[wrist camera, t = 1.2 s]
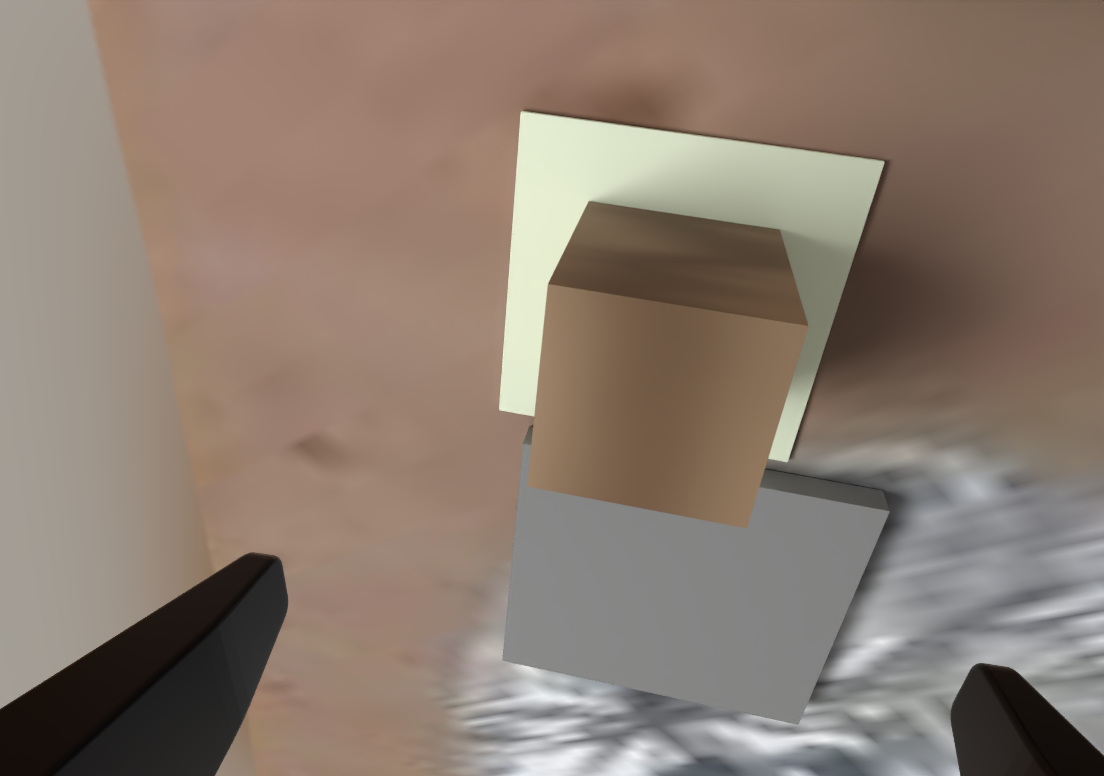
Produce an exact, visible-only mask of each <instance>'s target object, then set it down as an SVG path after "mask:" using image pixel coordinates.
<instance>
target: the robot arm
mask: <svg viewBox="0 0 1104 776" xmlns="http://www.w3.org/2000/svg"><path fill="white" fill-rule="evenodd" d="M287 608H288V594H287V589H286V583H285V577H284V571H283V566H282V562H281V560H280V559H279V558H278V557H277V556H274V555H268V554H261V553H254V552H252V553H248V554H245V555H243V556H242V557H240V558H238V559H237V560H235V561H234V562H232V563H231V564H229V565H227V566H226V567H224V568H223V569H221V570H219V571H218V572H216V573H215V574H213V575H212V576H210V577H209V578H207V579H205V580H204V581H202V582H200V583H199V584H197V585H196V586H194V587H193V588H191V589H189V590H188V591H186V592H185V593H183V594H182V595H180V596H178V597H177V598H175V599H174V600H172V601H171V602H169V603H167V604H166V605H164V606H163V607H161V608H159V609H158V610H156V611H155V612H153V613H151V614H150V615H148V616H147V617H145V618H143V619H142V620H140V621H139V622H137V623H136V624H134V625H132V626H131V627H129V628H128V629H126V630H124V631H123V632H121V633H120V634H118V635H117V636H115V637H113V638H112V639H110V640H109V641H107V642H106V643H104V644H103V645H101V646H99V647H98V648H96V649H94V650H93V651H91V652H90V653H88V654H86V655H85V656H83V657H82V658H80V659H79V660H77V661H76V662H74V663H72V664H71V665H69V666H67V667H66V668H64V669H63V670H61V671H60V672H58V673H56V674H55V675H53V676H52V677H50V678H49V679H47V680H45V681H44V682H42V683H41V684H39V685H38V686H36V687H34V688H33V689H31V690H30V691H28V692H26V693H25V694H23V695H22V696H20V697H18V698H17V699H16V700H14V701H12V702H11V703H9V704H7V705H6V706H4V707H3V708H1V709H0V776H215V774H216V772H217V770H218V769H219V767H220V765H221V763H222V761H223V759H224V757H225V756H226V754H227V752H228V750H229V748H230V746H231V744H232V742H233V740H234V738H235V736H236V734H237V732H238V730H239V728H240V726H241V724H242V722H243V720H244V718H245V715H246V713H247V711H248V708H249V706H250V704H251V701H252V699H253V696H254V694H255V691H256V689H257V686H258V684H259V681H260V679H261V676H262V674H263V671H264V669H265V666H266V664H267V661H268V659H269V656H270V654H271V651H272V649H273V646H274V644H275V641H276V639H277V636H278V634H279V631H280V629H281V626H282V624H283V621H284V619H285V616H286V613H287ZM951 726H952V731H953V737H954V742H955V748H956V754H957V759H958V765H959V771H960V776H1104V755H1103V754H1102V753H1101V752H1100V751H1099V750H1097V749H1096V748H1095V747H1094V746H1093V745H1092V744H1091V743H1090V742H1089V741H1088V740H1087V739H1086V738H1085V737H1084V736H1083V735H1082V734H1081V733H1080V732H1079V731H1078V730H1077V729H1076V728H1075V727H1074V726H1073V725H1072V724H1071V723H1070V722H1069V721H1068V720H1067V719H1065V718H1064V717H1063V716H1062V715H1061V714H1060V713H1059V712H1058V711H1057V710H1056V709H1055V708H1054V707H1053V706H1052V705H1051V704H1050V703H1049V702H1048V701H1047V700H1046V699H1045V698H1044V697H1043V696H1042V695H1041V694H1040V693H1039V692H1038V691H1037V690H1036V689H1035V688H1033V687H1032V686H1031V685H1030V684H1029V683H1028V682H1027V681H1026V680H1025V679H1024V678H1023V677H1022V676H1021V675H1020V674H1019V673H1018V672H1016V671H1015V670H1013V669H1011V668H1009V667H1004V666H998V665H991V664H985V663H978V664H976V665H974V666H973V667H972V668H971V670H970V672H969V673H968V675H967V677H966V679H965V681H964V683H963V685H962V687H961V689H960V690H959V692H958V694H957V696H956V698H955V700H954V702H953V705H952V709H951Z"/></svg>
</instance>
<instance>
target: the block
mask: <svg viewBox="0 0 1104 776" xmlns="http://www.w3.org/2000/svg"><path fill="white" fill-rule="evenodd" d="M808 327H809V326H808V322H807V319H806V316H805V312H804V309H803V306H802V302H801V299H800V295H799V292H798V289H797V285H796V282H795V279H794V275H793V272H792V269H791V265H790V262H789V259H788V255H787V252H786V248H785V245H784V242H783V238H782V235H781V232H780V229H773V228H766V227H760V226H753V225H746V224H739V223H733V222H726V221H719V220H713V219H706V218H699V217H692V216H686V215H679V214H672V213H666V212H659V211H652V210H645V209H639V208H632V207H625V206H619V205H612V204H605V203H598V202H592V201H588V203H587V205H586V208H585V210H584V212H583V214H582V216H581V218H580V220H579V222H578V224H577V226H576V228H575V230H574V232H573V234H572V236H571V238H570V240H569V242H568V244H567V246H566V248H565V250H564V252H563V254H562V256H561V258H560V260H559V262H558V264H557V266H556V268H555V270H554V272H553V274H552V276H551V279H550V281H549V283H548V287H547V297H546V307H545V316H544V326H543V336H542V346H541V355H540V365H539V375H538V385H537V394H536V404H535V414H534V424H533V433H532V443H531V453H530V463H529V473H528V482H527V487H532V488H538V489H543V490H548V491H553V492H559V493H564V494H569V495H574V496H579V497H585V498H590V499H595V500H600V501H606V502H611V503H616V504H621V505H627V506H632V507H637V508H642V509H648V510H653V511H658V512H663V513H669V514H674V515H679V516H684V517H689V518H695V519H700V520H705V521H710V522H716V523H721V524H726V525H731V526H737V527H742V528H747V526H748V523H749V519H750V516H751V513H752V510H753V506H754V503H755V500H756V497H757V493H758V490H759V487H760V484H761V480H762V477H763V474H764V470H765V467H766V464H767V461H768V457H769V454H770V451H771V448H772V444H773V441H774V438H775V434H776V431H777V428H778V425H779V421H780V418H781V415H782V412H783V408H784V405H785V402H786V398H787V395H788V392H789V389H790V385H791V382H792V379H793V376H794V372H795V369H796V366H797V362H798V359H799V356H800V353H801V349H802V346H803V343H804V340H805V336H806V333H807V330H808Z"/></svg>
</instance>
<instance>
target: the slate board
mask: <svg viewBox="0 0 1104 776" xmlns="http://www.w3.org/2000/svg"><path fill="white" fill-rule="evenodd" d="M532 433H533V427H531V426H530V427H529V429H528V432H527V435H526V437H525V440H524V443H523V450H522V461H521V471H520V481H519V492H518V502H517V513H516V523H515V534H514V544H513V555H512V565H511V576H510V586H509V597H508V607H507V618H506V628H505V639H504V649H503V660H502V661H507V662H511V663H516V664H521V665H525V666H530V667H535V668H539V669H544V670H548V671H553V672H558V673H562V674H567V675H571V676H576V677H581V678H585V679H590V680H595V681H599V682H604V683H608V684H613V685H618V686H622V687H627V688H631V689H636V690H641V691H645V692H650V693H655V694H659V695H664V696H668V697H673V698H678V699H682V700H687V701H691V702H696V703H701V704H705V705H710V706H715V707H719V708H724V709H728V710H733V711H738V712H742V713H747V714H752V715H756V716H761V717H765V718H770V719H775V720H779V721H784V722H788V723H793V724H799V722H800V720H801V717H802V715H803V713H804V710H805V708H806V706H807V703H808V701H809V699H810V696H811V694H812V692H813V689H814V687H815V685H816V682H817V680H818V678H819V675H820V673H821V671H822V668H823V666H824V664H825V661H826V659H827V657H828V654H829V652H830V650H831V647H832V645H833V643H834V640H835V638H836V636H837V633H838V631H839V629H840V626H841V624H842V622H843V619H844V617H845V615H846V612H847V610H848V608H849V605H850V603H851V601H852V598H853V596H854V594H855V591H856V589H857V587H858V584H859V582H860V580H861V577H862V575H863V573H864V570H865V568H866V566H867V563H868V561H869V559H870V556H871V554H872V552H873V549H874V547H875V545H876V542H877V540H878V538H879V535H880V533H881V531H882V528H883V526H884V524H885V521H886V519H887V517H888V514H889V512H890V510H889V507H888V505H887V502H886V499H885V496H884V493H883V491H882V490H877V489H871V488H866V487H860V486H855V485H849V484H844V483H838V482H833V481H827V480H822V479H816V478H811V477H805V476H800V475H794V474H789V473H783V472H778V471H772V470H767V469H765V470H764V474H763V477H762V480H761V484H760V487H759V490H758V493H757V497H756V500H755V503H754V506H753V510H752V513H751V516H750V519H749V523H748V526H747V528H742V527H737V526H731V525H726V524H721V523H716V522H710V521H705V520H700V519H695V518H689V517H684V516H679V515H674V514H669V513H663V512H658V511H653V510H648V509H642V508H637V507H632V506H627V505H621V504H616V503H611V502H606V501H600V500H595V499H590V498H585V497H579V496H574V495H569V494H564V493H559V492H553V491H548V490H543V489H538V488H532V487H527V482H528V473H529V463H530V453H531V443H532Z"/></svg>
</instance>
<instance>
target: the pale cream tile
mask: <svg viewBox="0 0 1104 776" xmlns="http://www.w3.org/2000/svg"><path fill="white" fill-rule="evenodd" d="M884 163H885V161H884V160H878V159H870V158H863V157H856V156H849V155H841V154H834V153H827V152H819V151H812V150H805V149H798V148H790V147H783V146H776V145H768V144H761V143H754V142H747V141H739V140H732V139H725V138H717V137H710V136H703V135H696V134H688V133H681V132H674V131H667V130H659V129H652V128H645V127H637V126H630V125H623V124H616V123H608V122H601V121H594V120H586V119H579V118H572V117H565V116H557V115H550V114H543V113H536V112H528V111H521V117H520V130H519V144H518V158H517V172H516V185H515V199H514V213H513V226H512V240H511V254H510V267H509V281H508V295H507V308H506V322H505V336H504V350H503V363H502V377H501V391H500V404H499V410H502V411H507V412H513V413H518V414H524V415H530V416H534V414H535V404H536V394H537V385H538V375H539V365H540V355H541V346H542V336H543V326H544V316H545V307H546V297H547V287H548V283H549V281H550V279H551V276H552V274H553V272H554V270H555V268H556V266H557V264H558V262H559V260H560V258H561V256H562V254H563V252H564V250H565V248H566V246H567V244H568V242H569V240H570V238H571V236H572V234H573V232H574V230H575V228H576V226H577V224H578V222H579V220H580V218H581V216H582V214H583V212H584V210H585V208H586V205H587V203H588V201H592V202H598V203H605V204H612V205H619V206H625V207H632V208H639V209H645V210H652V211H659V212H666V213H672V214H679V215H686V216H692V217H699V218H706V219H713V220H719V221H726V222H733V223H739V224H746V225H753V226H760V227H766V228H773V229H780V232H781V235H782V238H783V242H784V245H785V248H786V252H787V255H788V259H789V262H790V265H791V269H792V272H793V275H794V279H795V282H796V285H797V289H798V292H799V295H800V299H801V302H802V306H803V309H804V312H805V316H806V319H807V322H808V326H809V327H808V330H807V333H806V336H805V340H804V343H803V346H802V349H801V353H800V356H799V359H798V362H797V366H796V369H795V372H794V376H793V379H792V382H791V385H790V389H789V392H788V395H787V398H786V402H785V405H784V408H783V412H782V415H781V418H780V421H779V425H778V428H777V431H776V434H775V438H774V441H773V444H772V448H771V451H770V454H769V457H768V459H773V460H778V461H784V462H788V459H789V456H790V453H791V450H792V447H793V444H794V441H795V438H796V435H797V432H798V429H799V425H800V422H801V419H802V416H803V413H804V410H805V407H806V404H807V401H808V398H809V395H810V391H811V388H812V385H813V382H814V379H815V376H816V373H817V370H818V367H819V364H820V361H821V357H822V354H823V351H824V348H825V345H826V342H827V339H828V336H829V333H830V330H831V327H832V323H833V320H834V317H835V314H836V311H837V308H838V305H839V302H840V299H841V296H842V293H843V289H844V286H845V283H846V280H847V277H848V274H849V271H850V268H851V265H852V262H853V258H854V255H855V252H856V249H857V246H858V243H859V240H860V237H861V234H862V231H863V228H864V224H865V221H866V218H867V215H868V212H869V209H870V206H871V203H872V200H873V197H874V194H875V190H876V187H877V184H878V181H879V178H880V175H881V172H882V169H883V166H884Z"/></svg>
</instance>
